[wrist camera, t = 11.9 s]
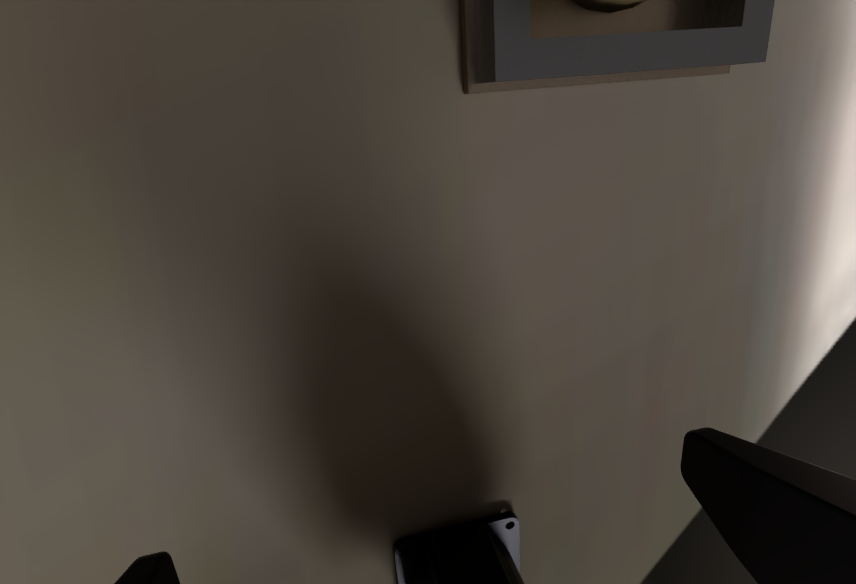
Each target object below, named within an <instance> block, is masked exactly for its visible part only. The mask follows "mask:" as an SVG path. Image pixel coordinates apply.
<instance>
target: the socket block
mask: <svg viewBox="0 0 856 584" xmlns="http://www.w3.org/2000/svg"><path fill="white" fill-rule="evenodd" d="M773 7H774V0H646V1H645V2H643V3H641V4H639V5H637V6H635V7H634V8H630V9H626V10H622V11H618V12H613V13H605V12H598V11H592V10H587V9H585V8H583V7H582V6H580V5H578V4H577V3H575V2H573V1H572V0H460V18H461V40H462V63H463V85H464V94H469V93H481V92H494V91H507V90H520V89H533V88H545V87H558V86H571V85H584V84H597V83H609V82H622V81H635V80H648V79H661V78H673V77H686V76H699V75H712V74H725V73H729V71H730V65H734V64H745V63H755V62H765V61H766V54H767V48H768V41H769V34H770V27H771V21H772V14H773Z"/></svg>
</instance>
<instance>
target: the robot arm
mask: <svg viewBox="0 0 856 584" xmlns="http://www.w3.org/2000/svg"><path fill="white" fill-rule="evenodd" d="M681 473H682V476H683V478H684V480H685V482H686V484H687V485H688V487H689V488H690V490H691V491H692V493H693V494H694V495H695V497H696V498H697V500H698V501H699V503H700V504H701V506H702V507H703V509H704V510H705V512H706V513H707V515H708V516H709V517H710V519H711V521H712V522H713V524H714V525H715V527H716V528H717V529H718V531H719V532H720V534H721V535H722V537H723V538H724V540H725V541H726V543H727V544H728V546H729V547H730V548H731V550H732V551H733V553H734V554H735V555H736V557H737V558H738V559H739V561H740V562H741V563H742V564H743V566H744V567H745V568H746V570H747V571H748V572H749V573H750V574H751V576H752V577H753V578H754V579H755V581H756V582H757V583H758V584H856V480H855V479H852V478H849V477H847V476H844V475H841V474H838V473H835V472H833V471H830V470H827V469H824V468H822V467H819V466H816V465H813V464H810V463H807V462H805V461H802V460H799V459H796V458H794V457H791V456H788V455H785V454H782V453H780V452H776V451H774V450H771V449H768V448H766V447H762V446H760V445H757V444H754V443H751V442H749V441H746V440H743V439H740V438H737V437H735V436H732V435H729V434H726V433H723V432H721V431H718V430H715V429H712V428H700V429H696V430H692V431H689V432H687V433H686V435H685V437H684V443H683V451H682V459H681ZM508 522H509V523H508ZM393 548H394V556H395V564H396V572H397V580H398V584H524V582H523V580H522V578H521V576H520V547H519V521H518V519H517V517H516V515H515V514H514V513H512V512H506V513H502V514H497V515H493V516H489V517H485V518H481V519H477V520H473V521H469V522H465V523H460V524H456V525H452V526H448V527H444V528H440V529H436V530H432V531H428V532H424V533H419V534H415V535H411V536H407V537H403V538H400V539H398V540H397V541H396V542H395V543H394V547H393ZM403 548H405V549H403ZM114 584H180V582H179V579H178V576H177V573H176V570H175V567H174V564H173V561H172V558H171V556H170V555H169V553H167V552H158V553H154V554H150V555H145V556H142V557H139V558H138V559H136V560H135V561H134V562H133V563H132V564H131V565H130V567H129V568H128V569H127V570H126V571H125V572H124V573H123V574H122V576H121V577H120V578H119V579H118V580H117V581H116V582H115V583H114Z"/></svg>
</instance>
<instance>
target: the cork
mask: <svg viewBox="0 0 856 584" xmlns="http://www.w3.org/2000/svg"><path fill="white" fill-rule="evenodd" d="M572 1H573V2H575V3H577V4H578V5H580V6H582V7H583V8H585V9H587V10H592V11H598V12H605V13H613V12H618V11H622V10H626V9H630V8H634V7H635V6H637V5H639V4H641V3H643V2H645V1H646V0H572Z"/></svg>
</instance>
